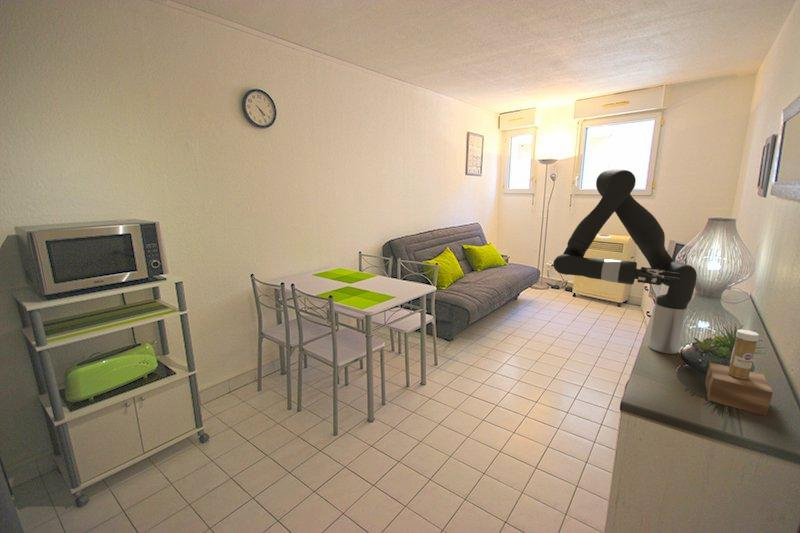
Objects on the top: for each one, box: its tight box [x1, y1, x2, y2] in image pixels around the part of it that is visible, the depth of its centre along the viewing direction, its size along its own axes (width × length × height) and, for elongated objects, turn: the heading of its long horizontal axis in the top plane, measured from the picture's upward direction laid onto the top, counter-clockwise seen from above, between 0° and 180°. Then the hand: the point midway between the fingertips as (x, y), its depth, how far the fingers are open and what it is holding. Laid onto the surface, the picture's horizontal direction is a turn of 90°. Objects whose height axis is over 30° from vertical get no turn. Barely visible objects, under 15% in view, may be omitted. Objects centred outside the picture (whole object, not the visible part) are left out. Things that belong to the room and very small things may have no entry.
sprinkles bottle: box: [728, 328, 760, 379], centre depth 102 cm, size 5×5×13 cm
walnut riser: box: [704, 362, 774, 417], centre depth 104 cm, size 12×12×7 cm
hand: (679, 279), depth 111 cm, fingers open, 8 cm apart
